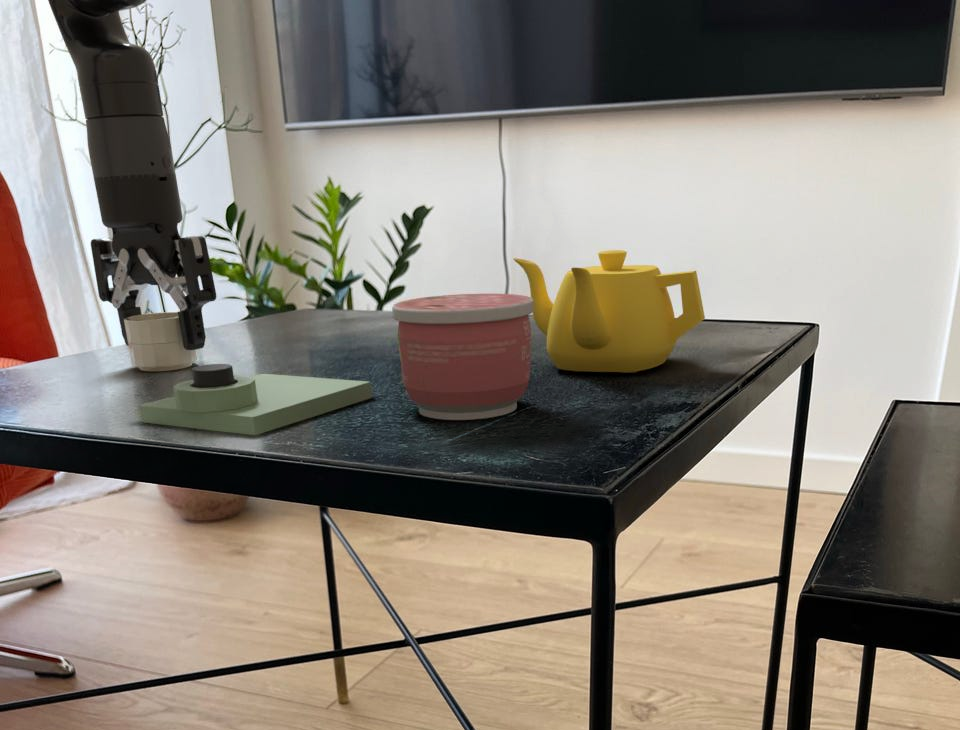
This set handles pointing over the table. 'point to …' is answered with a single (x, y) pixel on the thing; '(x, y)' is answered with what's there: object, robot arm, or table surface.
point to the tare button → (213, 375)
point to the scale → (254, 403)
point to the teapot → (613, 314)
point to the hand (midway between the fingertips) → (165, 347)
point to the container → (465, 353)
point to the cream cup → (157, 342)
